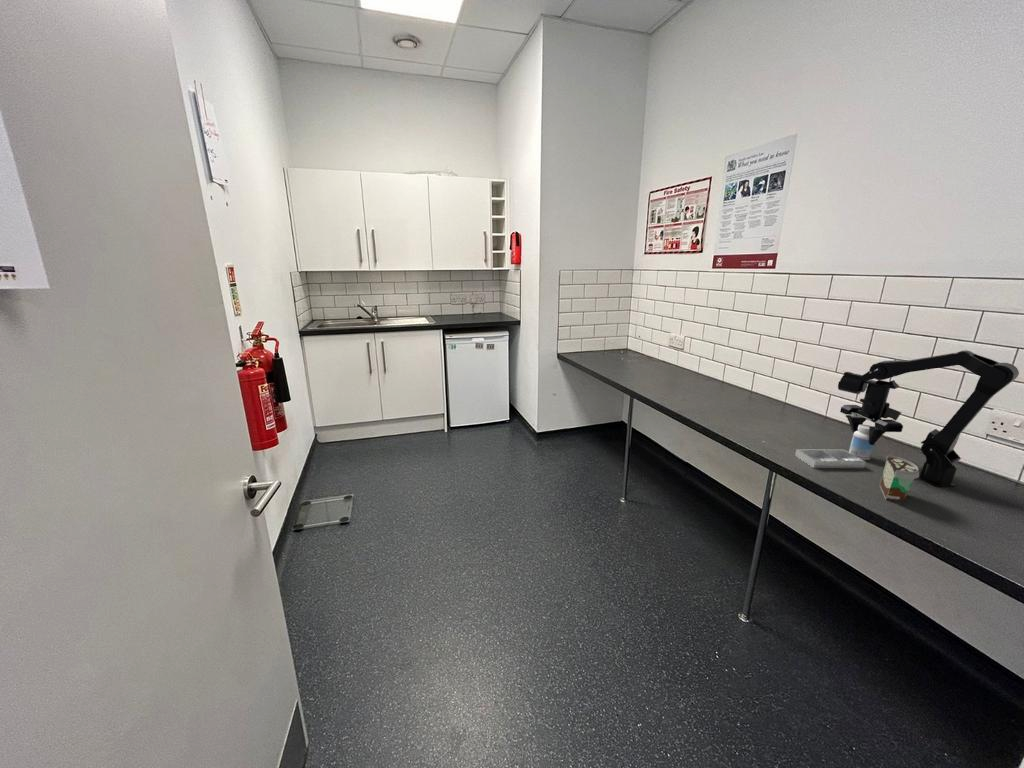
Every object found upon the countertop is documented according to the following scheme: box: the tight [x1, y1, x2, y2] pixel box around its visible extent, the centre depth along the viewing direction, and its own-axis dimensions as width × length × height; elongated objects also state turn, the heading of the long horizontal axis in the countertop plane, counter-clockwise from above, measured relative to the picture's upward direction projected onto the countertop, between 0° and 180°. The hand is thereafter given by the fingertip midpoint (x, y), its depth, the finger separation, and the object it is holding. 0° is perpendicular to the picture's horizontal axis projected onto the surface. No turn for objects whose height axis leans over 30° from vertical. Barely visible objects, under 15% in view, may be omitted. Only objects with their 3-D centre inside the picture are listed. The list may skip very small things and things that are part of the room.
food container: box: [879, 454, 920, 502], centre depth 120 cm, size 12×6×10 cm, turn 148°
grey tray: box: [794, 448, 867, 469], centre depth 141 cm, size 9×17×2 cm, turn 91°
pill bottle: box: [848, 424, 875, 461], centre depth 144 cm, size 6×6×11 cm
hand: (863, 440), depth 143 cm, fingers closed on pill bottle, 6 cm apart
